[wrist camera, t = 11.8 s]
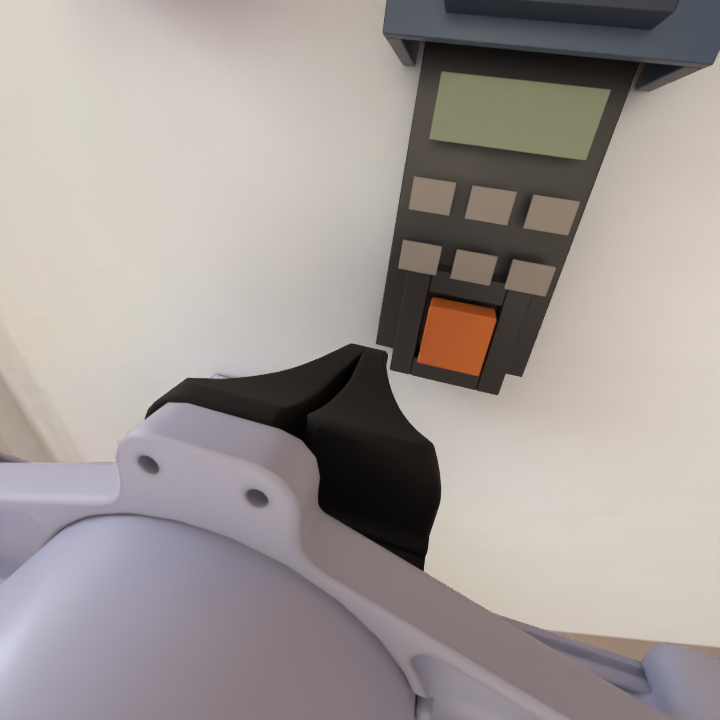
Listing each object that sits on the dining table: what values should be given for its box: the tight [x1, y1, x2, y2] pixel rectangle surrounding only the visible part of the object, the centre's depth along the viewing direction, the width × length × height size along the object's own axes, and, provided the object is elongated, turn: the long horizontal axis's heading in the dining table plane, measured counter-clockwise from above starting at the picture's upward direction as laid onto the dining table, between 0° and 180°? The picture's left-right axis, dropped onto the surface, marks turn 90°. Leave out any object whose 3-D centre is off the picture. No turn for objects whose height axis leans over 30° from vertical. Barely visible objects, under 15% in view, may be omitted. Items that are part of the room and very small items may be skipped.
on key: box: [418, 297, 497, 376], centre depth 20 cm, size 3×3×2 cm
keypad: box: [398, 71, 611, 296], centre depth 17 cm, size 8×7×1 cm
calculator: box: [376, 41, 640, 395], centre depth 19 cm, size 16×9×2 cm, turn 172°
